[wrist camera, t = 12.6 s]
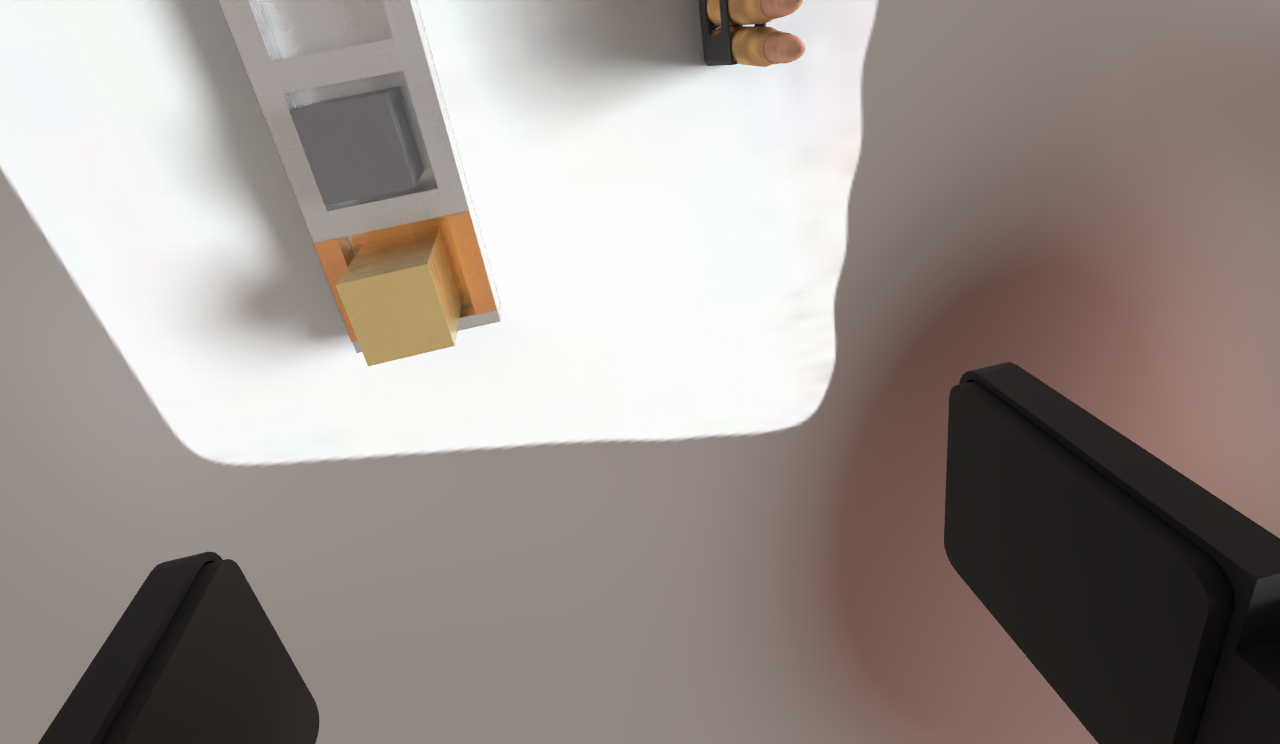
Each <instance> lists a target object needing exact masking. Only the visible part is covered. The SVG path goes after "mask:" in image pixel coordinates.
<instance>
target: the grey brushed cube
mask: <svg viewBox="0 0 1280 744" xmlns="http://www.w3.org/2000/svg"><path fill="white" fill-rule="evenodd" d="M290 114H291V117H292V120H293V122H294V125H295V128H296V130H297V133H298V136H299V138H300V141H301V144H302V146H303V149H304V152H305V154H306V157H307V160H308V162H309V165H310V168H311V170H312V173H313V176H314V178H315V181H316V184H317V186H318V189H319V192H320V194H321V197H322V200H323V202H324V205H325V206H327V205H331V204H336V203H341V202H346V201H351V200H356V199H361V198H366V197H371V196H375V195H380V194H385V193H390V192H395V191H400V190H405V189H410V188H414V187H415V186H416V184H417V182H418V181H419V179H420V177H421V176H422V174H423V172H424V167H423V164H422V161H421V157H420V154H419V151H418V148H417V144H416V141H415V138H414V134H413V131H412V128H411V124H410V121H409V118H408V115H407V111H406V108H405V105H404V101H403V98H402V95H401V91H400V88H399V86H397V87H392V88H387V89H382V90H377V91H371V92H366V93H361V94H356V95H351V96H346V97H340V98H335V99H330V100H325V101H320V102H315V103H312V104H309V105H307V106H304V107H301V108H299V109H296V110H294V111H291V112H290Z"/></svg>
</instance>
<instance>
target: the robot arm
mask: <svg viewBox="0 0 1280 744" xmlns="http://www.w3.org/2000/svg"><path fill="white" fill-rule="evenodd" d="M944 545H945V550H946V553H947V556H948V559H949V561H950V562H951V565H952V566H953V567H954V569H955V570H956V571H957V573H958V574H959V575H960V576H961V578H962V579H963V580H964V581H965V582H966V584H967V585H968V586H969V587H970V588H971V590H972V591H973V592H974V593H975V594H976V596H977V597H978V598H979V599H980V600H981V602H982V603H983V604H984V605H985V607H986V608H987V609H988V610H989V611H990V613H991V614H992V615H993V616H994V618H996V620H997V621H998V622H999V624H1000V625H1001V626H1002V627H1003V628H1004V630H1005V631H1006V632H1007V633H1008V634H1009V636H1010V637H1011V638H1012V639H1013V641H1014V642H1015V643H1016V644H1017V645H1018V646H1019V648H1020V649H1021V650H1022V651H1023V652H1024V654H1025V655H1026V656H1027V657H1028V658H1029V660H1030V661H1031V662H1032V664H1033V665H1034V666H1035V667H1036V668H1037V670H1038V671H1039V672H1040V673H1041V674H1042V675H1043V677H1044V678H1045V679H1046V680H1047V682H1048V683H1049V684H1050V685H1051V686H1052V687H1053V689H1054V690H1055V691H1056V692H1057V694H1058V695H1059V696H1060V697H1061V699H1062V700H1063V701H1064V702H1065V703H1066V704H1067V706H1068V707H1069V708H1070V710H1071V711H1072V712H1073V713H1074V714H1075V715H1076V717H1077V718H1078V719H1079V720H1080V722H1081V723H1082V724H1083V725H1084V726H1085V728H1086V729H1087V730H1088V731H1089V732H1090V734H1091V735H1092V736H1093V737H1094V739H1095V740H1096V741H1097V742H1098V743H1099V744H1280V539H1279V538H1278V537H1276V536H1275V535H1273V534H1272V533H1270V532H1269V531H1267V530H1266V529H1264V528H1263V527H1261V526H1260V525H1258V524H1257V523H1255V522H1254V521H1252V520H1250V519H1249V518H1247V517H1246V516H1244V515H1243V514H1241V513H1240V512H1238V511H1237V510H1235V509H1234V508H1232V507H1231V506H1229V505H1228V504H1226V503H1225V502H1223V501H1222V500H1220V499H1218V498H1217V497H1216V496H1214V495H1213V494H1211V493H1210V492H1208V491H1206V490H1205V489H1204V488H1202V487H1200V486H1199V485H1198V484H1196V483H1194V482H1193V481H1191V480H1190V479H1188V478H1187V477H1185V476H1184V475H1182V474H1181V473H1179V472H1178V471H1176V470H1175V469H1173V468H1172V467H1170V466H1169V465H1167V464H1166V463H1164V462H1163V461H1161V460H1160V459H1158V458H1157V457H1155V456H1154V455H1152V454H1151V453H1149V452H1147V451H1146V450H1145V449H1143V448H1141V447H1140V446H1139V445H1137V444H1136V443H1134V442H1132V441H1131V440H1129V439H1128V438H1126V437H1125V436H1123V435H1122V434H1120V433H1119V432H1117V431H1116V430H1114V429H1113V428H1111V427H1110V426H1108V425H1106V424H1105V423H1104V422H1102V421H1101V420H1099V419H1098V418H1096V417H1095V416H1093V415H1092V414H1090V413H1089V412H1087V411H1086V410H1084V409H1083V408H1081V407H1080V406H1078V405H1076V404H1075V403H1073V402H1072V401H1070V400H1069V399H1067V398H1066V397H1064V396H1063V395H1061V394H1060V393H1058V392H1057V391H1055V390H1054V389H1052V388H1051V387H1049V386H1048V385H1046V384H1045V383H1043V382H1042V381H1040V380H1039V379H1037V378H1035V377H1034V376H1033V375H1031V374H1030V373H1028V372H1027V371H1025V370H1023V369H1022V368H1021V367H1019V366H1017V365H1015V364H1013V363H1011V362H1009V363H1001V364H997V365H993V366H989V367H984V368H980V369H976V370H972V371H968V372H966V373H965V374H963V375H962V377H961V379H960V384H959V385H956V386H954V387H953V388H952V390H951V391H950V397H949V421H948V448H947V476H946V501H945V529H944ZM318 730H319V713H318V709H317V705H316V703H315V700H314V699H313V697H312V695H311V693H310V691H309V690H308V688H307V686H306V684H305V683H304V681H303V679H302V677H301V676H300V674H299V672H298V670H297V668H296V667H295V665H294V663H293V661H292V660H291V658H290V656H289V654H288V652H287V651H286V649H285V647H284V645H283V644H282V642H281V640H280V638H279V637H278V635H277V633H276V631H275V629H274V628H273V626H272V624H271V622H270V620H269V619H268V617H267V615H266V614H265V612H264V610H263V608H262V606H261V605H260V603H259V601H258V599H257V597H256V596H255V594H254V592H253V590H252V589H251V587H250V585H249V583H248V582H247V580H246V578H245V576H244V574H243V573H242V571H241V569H240V567H239V566H238V565H237V563H236V562H234V561H233V560H229V559H226V560H223V559H222V558H221V557H220V556H219V555H217V554H216V553H214V552H205V553H201V554H197V555H192V556H189V557H184V558H180V559H175V560H171V561H167V562H163V563H161V564H158V565H157V566H156V567H155V568H154V569H153V570H152V571H151V573H150V574H149V576H148V577H147V579H146V580H145V582H144V583H143V585H142V586H141V588H140V589H139V591H138V592H137V594H136V595H135V597H134V598H133V600H132V602H131V603H130V605H129V606H128V608H127V609H126V611H125V612H124V614H123V615H122V617H121V618H120V620H119V621H118V623H117V624H116V626H115V627H114V629H113V631H112V632H111V633H110V635H109V637H108V638H107V640H106V641H105V643H104V644H103V646H102V647H101V649H100V650H99V652H98V653H97V655H96V656H95V658H94V659H93V661H92V662H91V664H90V666H89V667H88V669H87V670H86V672H85V673H84V675H83V676H82V678H81V679H80V681H79V682H78V684H77V685H76V687H75V689H74V690H73V691H72V693H71V695H70V696H69V698H68V699H67V701H66V702H65V703H64V705H63V707H62V708H61V710H60V711H59V713H58V714H57V716H56V717H55V719H54V720H53V722H52V723H51V725H50V726H49V728H48V729H47V731H46V733H45V734H44V735H43V737H42V738H41V740H40V742H39V743H38V744H315V743H316V739H317V735H318Z"/></svg>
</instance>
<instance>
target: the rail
mask: <svg viewBox="0 0 1280 744" xmlns="http://www.w3.org/2000/svg"><path fill="white" fill-rule="evenodd" d="M219 3H220V5H221V8H222V10H223V13H224V15H225V18H226V20H227V23H228V26H229V28H230V31H231V33H232V36H233V38H234V41H235V43H236V46H237V49H238V51H239V54H240V56H241V59H242V61H243V64H244V66H245V69H246V72H247V74H248V77H249V79H250V82H251V84H252V87H253V89H254V92H255V94H256V97H257V100H258V102H259V105H260V107H261V110H262V112H263V115H264V117H265V120H266V123H267V125H268V128H269V130H270V133H271V135H272V138H273V140H274V143H275V146H276V148H277V151H278V153H279V156H280V158H281V161H282V163H283V166H284V168H285V171H286V174H287V176H288V179H289V181H290V184H291V186H292V189H293V191H294V194H295V197H296V199H297V202H298V204H299V207H300V209H301V212H302V214H303V217H304V220H305V222H306V225H307V227H308V230H309V232H310V235H311V237H312V240H313V242H314V243H313V244H314V247H315V249H316V252H317V254H318V257H319V260H320V262H321V265H322V267H323V270H324V272H325V275H326V277H327V280H328V282H329V285H330V288H331V290H332V293H333V295H334V298H335V300H336V303H337V305H338V308H339V311H340V313H341V316H342V318H343V321H344V323H345V326H346V328H347V331H348V333H349V336H350V339H351V341H352V342H353V345H354V347H355V350H356V352H357V353H359V352H362V350H361V347H360V345H359V342H358V340H357V337H356V335H355V332H354V330H353V327H352V325H351V322H350V320H349V317H348V315H347V312H346V310H345V308H344V305H343V303H342V300H341V298H340V295H339V293H338V290H337V288H336V283H337V282H338V280H339V279H340V277H341V276H342V274H343V273H344V271H345V270H346V268H347V267H348V265H349V264H350V262H351V261H352V260H353V258H354V257H355V255H356V254H357V252H358V251H359V249H360V248H361V246H362V245H363V243H368V242H372V241H377V240H381V239H385V238H390V237H394V236H399V235H403V234H408V233H412V232H417V231H421V230H426V229H430V228H435V227H439V226H440V228H441V231H442V234H443V237H444V240H445V243H446V246H447V249H448V253H449V256H450V259H451V262H452V265H453V268H454V271H455V275H456V278H457V281H458V284H459V287H460V290H461V293H462V297H463V299H462V304H461V310H460V316H459V322H458V328H457V331H459V330H463V329H468V328H472V327H477V326H481V325H486V324H490V323H495V322H499V321H500V319H501V301H500V298H499V294H498V291H497V287H496V283H495V280H494V276H493V273H492V269H491V265H490V262H489V258H488V255H487V251H486V247H485V244H484V240H483V237H482V233H481V229H480V226H479V222H478V219H477V215H476V211H475V208H474V204H473V201H472V197H471V193H470V190H469V186H468V183H467V179H466V175H465V172H464V168H463V165H462V161H461V157H460V154H459V150H458V147H457V143H456V139H455V136H454V132H453V129H452V125H451V121H450V118H449V114H448V111H447V107H446V103H445V100H444V96H443V93H442V89H441V85H440V82H439V78H438V75H437V71H436V67H435V64H434V60H433V57H432V53H431V49H430V46H429V42H428V39H427V35H426V31H425V28H424V24H423V21H422V17H421V13H420V10H419V6H418V3H417V0H219ZM397 86H399V88H400V91H401V95H402V98H403V101H404V105H405V108H406V111H407V115H408V118H409V121H410V124H411V128H412V131H413V134H414V138H415V141H416V144H417V148H418V151H419V154H420V157H421V161H422V164H423V167H424V172H423V174H422V176H421V177H420V179H419V181H418V182H417V184H416V186H415V187H414V188H410V189H405V190H400V191H395V192H390V193H385V194H380V195H375V196H371V197H366V198H361V199H356V200H351V201H346V202H341V203H336V204H331V205H327V206H325V205H324V202H323V200H322V197H321V194H320V192H319V189H318V186H317V184H316V181H315V178H314V176H313V173H312V170H311V168H310V165H309V162H308V160H307V157H306V154H305V152H304V149H303V146H302V144H301V141H300V138H299V136H298V133H297V130H296V128H295V125H294V122H293V120H292V117H291V114H290V112H291V111H294V110H296V109H299V108H301V107H304V106H307V105H309V104H312V103H315V102H320V101H325V100H330V99H335V98H340V97H346V96H351V95H356V94H361V93H366V92H371V91H377V90H382V89H387V88H392V87H397Z"/></svg>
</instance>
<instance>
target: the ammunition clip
mask: <svg viewBox="0 0 1280 744" xmlns="http://www.w3.org/2000/svg"><path fill="white" fill-rule="evenodd" d="M802 2H803V0H699V9H700V19H701V29H702V39H703V49H704V59H705V63H706V64H707V66H712V65H734V64H745V65H752V66H769V65H772V64H779V63H789V62H792V61H794V60H797V59H798V58H800V57H801V56H802V55H803V53H804V52H805V45H804V43H803V42H802V41H801V40H800V39H799V38H798V37H797V36H794V35H792V34H790V33H783V32H781V31H777V30H776V29H773V28H771V27H766V23H767V22H769V21H771V20H773V19H776V18H779V17H784V16H786V15H789V14H791V13H793V12H795V11H796V10H797V9H798V8H799V7H800V6H801V4H802ZM746 24H755V26H754V27H743V26H742V25H746Z"/></svg>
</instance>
